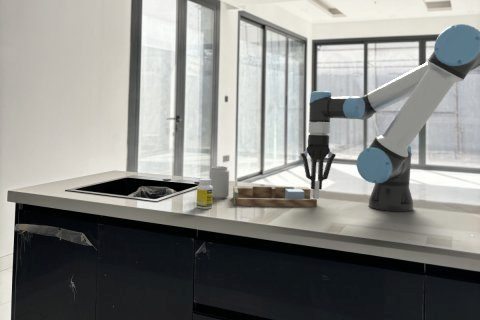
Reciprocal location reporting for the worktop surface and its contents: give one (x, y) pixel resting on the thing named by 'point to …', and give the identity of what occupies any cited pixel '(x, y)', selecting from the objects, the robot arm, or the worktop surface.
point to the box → (270, 196)
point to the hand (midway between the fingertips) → (315, 198)
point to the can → (220, 182)
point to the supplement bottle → (204, 194)
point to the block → (294, 194)
